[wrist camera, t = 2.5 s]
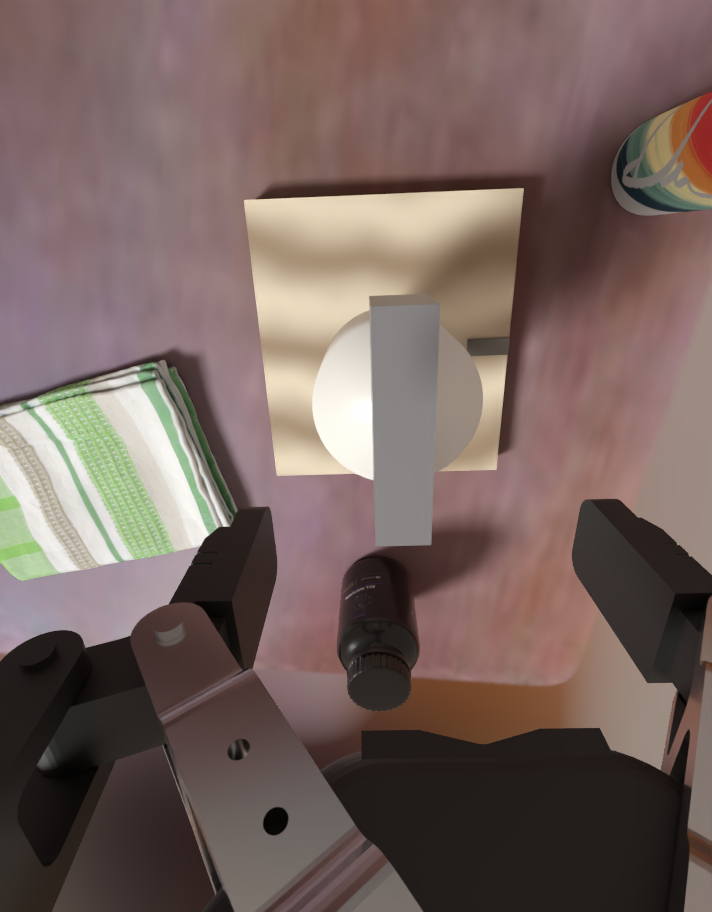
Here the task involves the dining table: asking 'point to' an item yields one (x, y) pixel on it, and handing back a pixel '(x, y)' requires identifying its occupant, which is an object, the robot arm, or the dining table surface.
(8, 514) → the dish towel
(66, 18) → the dining table surface
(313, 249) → the post board
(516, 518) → the dining table surface
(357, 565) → the supplement bottle
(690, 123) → the lotion bottle
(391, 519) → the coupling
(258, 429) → the dining table surface
